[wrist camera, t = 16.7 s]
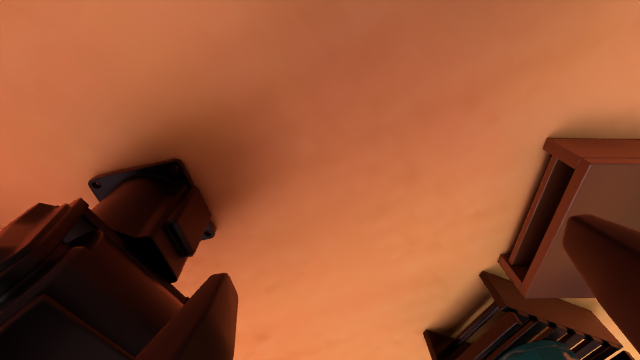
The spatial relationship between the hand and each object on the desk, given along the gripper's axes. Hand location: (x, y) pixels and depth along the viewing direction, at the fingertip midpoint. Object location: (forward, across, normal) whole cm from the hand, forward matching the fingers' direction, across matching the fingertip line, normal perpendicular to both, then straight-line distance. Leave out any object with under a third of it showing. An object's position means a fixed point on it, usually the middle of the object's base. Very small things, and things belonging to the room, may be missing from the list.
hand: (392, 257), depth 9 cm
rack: (+13, -12, +24) cm, 29 cm away
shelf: (+13, -16, +11) cm, 23 cm away
